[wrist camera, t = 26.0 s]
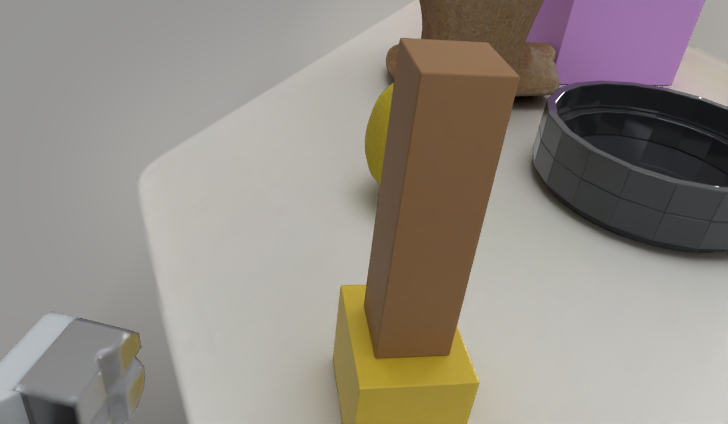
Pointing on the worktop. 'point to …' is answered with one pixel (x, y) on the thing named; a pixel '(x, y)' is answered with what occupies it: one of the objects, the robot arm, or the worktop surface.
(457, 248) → the sponge wand
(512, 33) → the stone cup
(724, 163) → the bowl
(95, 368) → the robot arm
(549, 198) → the worktop surface
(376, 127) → the lemon
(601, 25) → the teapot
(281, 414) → the worktop surface
